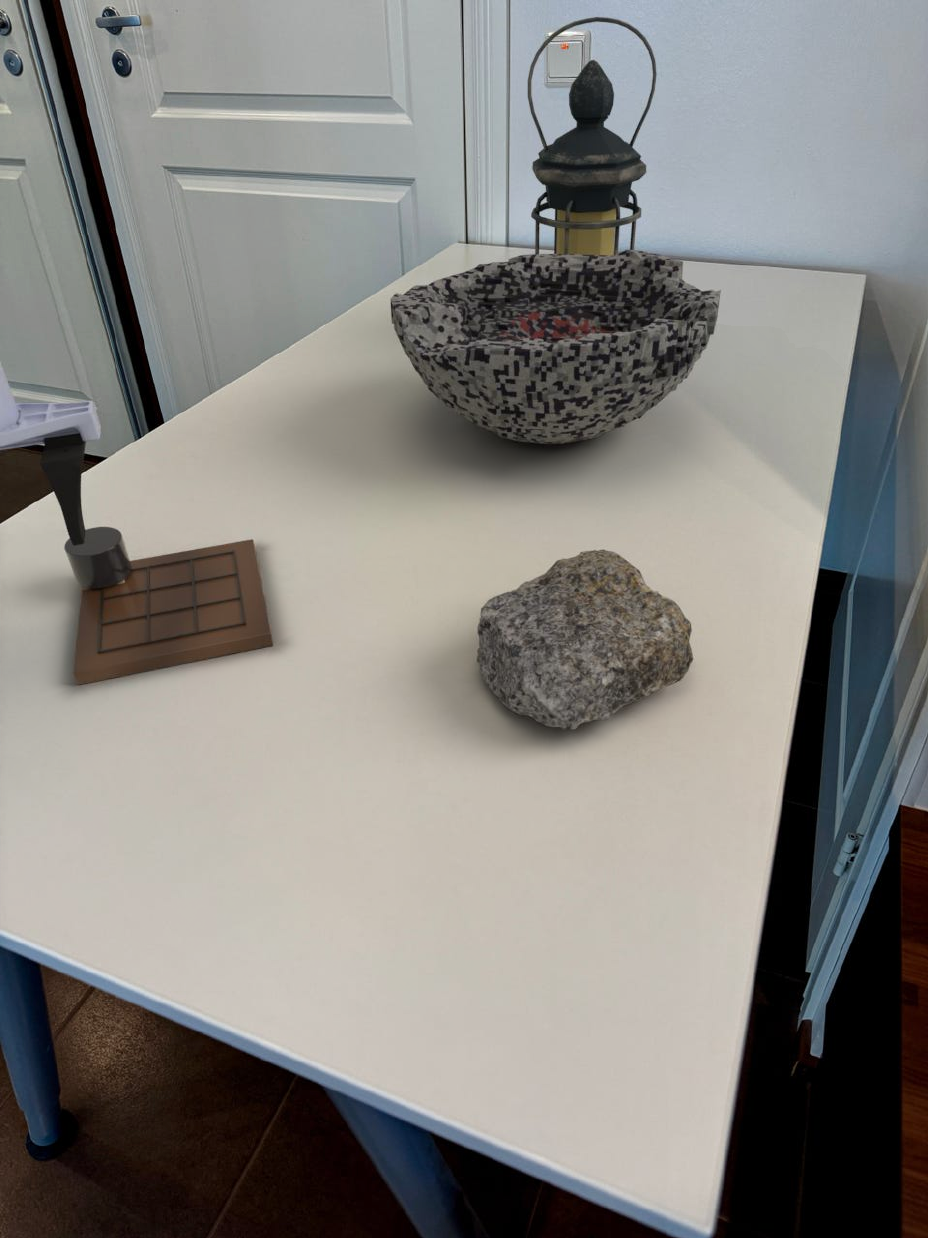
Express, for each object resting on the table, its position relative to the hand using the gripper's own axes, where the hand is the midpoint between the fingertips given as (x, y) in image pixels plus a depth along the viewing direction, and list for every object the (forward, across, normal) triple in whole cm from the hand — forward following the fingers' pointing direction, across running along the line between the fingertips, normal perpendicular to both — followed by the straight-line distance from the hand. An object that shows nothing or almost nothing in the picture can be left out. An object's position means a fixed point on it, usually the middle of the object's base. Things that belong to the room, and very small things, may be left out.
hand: (21, 547), depth 60 cm
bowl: (+10, -48, -24) cm, 55 cm away
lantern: (+10, -61, -47) cm, 78 cm away
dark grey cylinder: (+8, -3, -8) cm, 12 cm away
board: (+9, -8, -3) cm, 13 cm away
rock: (+10, -36, +14) cm, 40 cm away
